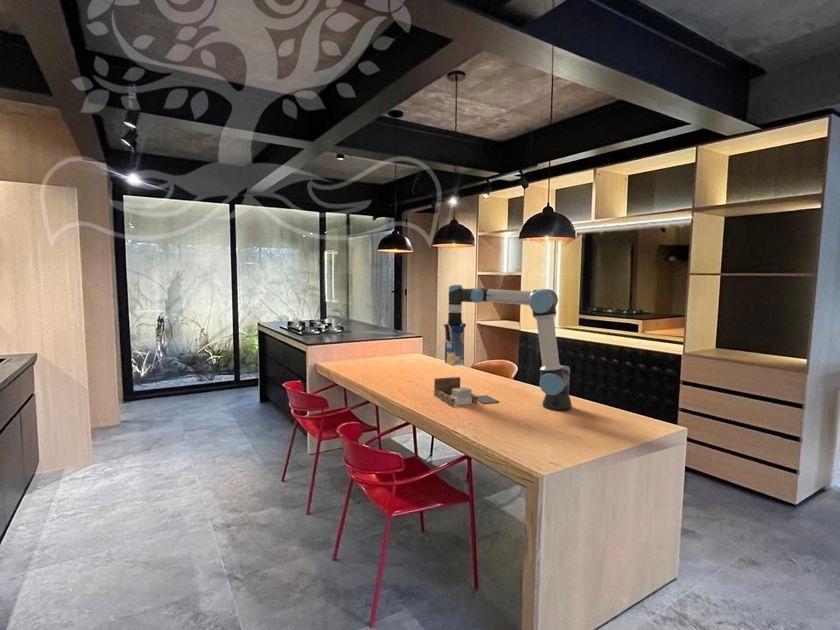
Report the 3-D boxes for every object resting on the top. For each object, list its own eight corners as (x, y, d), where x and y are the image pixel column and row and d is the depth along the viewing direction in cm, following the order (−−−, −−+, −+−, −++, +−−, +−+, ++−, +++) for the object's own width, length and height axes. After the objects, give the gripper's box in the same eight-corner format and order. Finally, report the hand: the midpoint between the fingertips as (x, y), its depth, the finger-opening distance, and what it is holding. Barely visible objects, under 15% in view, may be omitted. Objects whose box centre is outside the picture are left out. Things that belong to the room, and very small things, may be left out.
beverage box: (455, 361, 267) (456, 324, 265) (463, 365, 257) (464, 326, 255) (444, 362, 265) (445, 324, 263) (452, 366, 255) (453, 326, 253)
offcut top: (471, 396, 253) (471, 389, 253) (458, 398, 248) (458, 391, 248) (464, 394, 258) (464, 387, 258) (451, 396, 253) (451, 389, 253)
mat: (499, 402, 255) (499, 401, 255) (483, 404, 252) (483, 402, 251) (486, 396, 268) (486, 395, 268) (471, 397, 264) (471, 396, 264)
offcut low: (471, 404, 252) (471, 397, 251) (455, 405, 248) (455, 398, 248) (465, 400, 258) (466, 394, 258) (449, 402, 255) (450, 395, 254)
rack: (477, 403, 252) (477, 386, 251) (451, 406, 246) (451, 388, 245) (458, 393, 274) (459, 376, 273) (434, 395, 268) (434, 378, 267)
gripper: (463, 311, 264) (463, 351, 266) (440, 311, 259) (439, 352, 261) (469, 312, 258) (468, 353, 260) (445, 312, 252) (445, 354, 254)
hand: (454, 353), depth 260 cm, fingers closed on beverage box, 2 cm apart
